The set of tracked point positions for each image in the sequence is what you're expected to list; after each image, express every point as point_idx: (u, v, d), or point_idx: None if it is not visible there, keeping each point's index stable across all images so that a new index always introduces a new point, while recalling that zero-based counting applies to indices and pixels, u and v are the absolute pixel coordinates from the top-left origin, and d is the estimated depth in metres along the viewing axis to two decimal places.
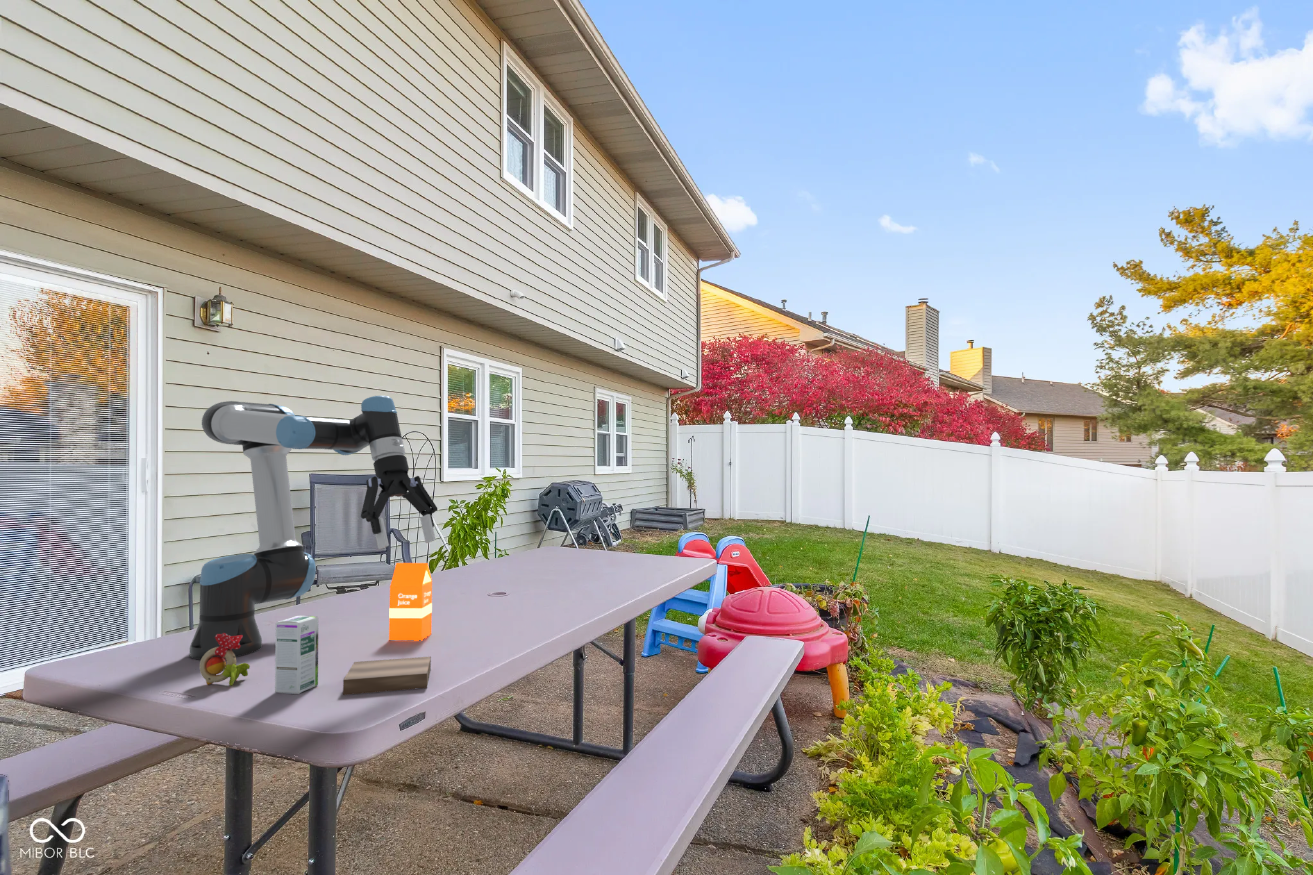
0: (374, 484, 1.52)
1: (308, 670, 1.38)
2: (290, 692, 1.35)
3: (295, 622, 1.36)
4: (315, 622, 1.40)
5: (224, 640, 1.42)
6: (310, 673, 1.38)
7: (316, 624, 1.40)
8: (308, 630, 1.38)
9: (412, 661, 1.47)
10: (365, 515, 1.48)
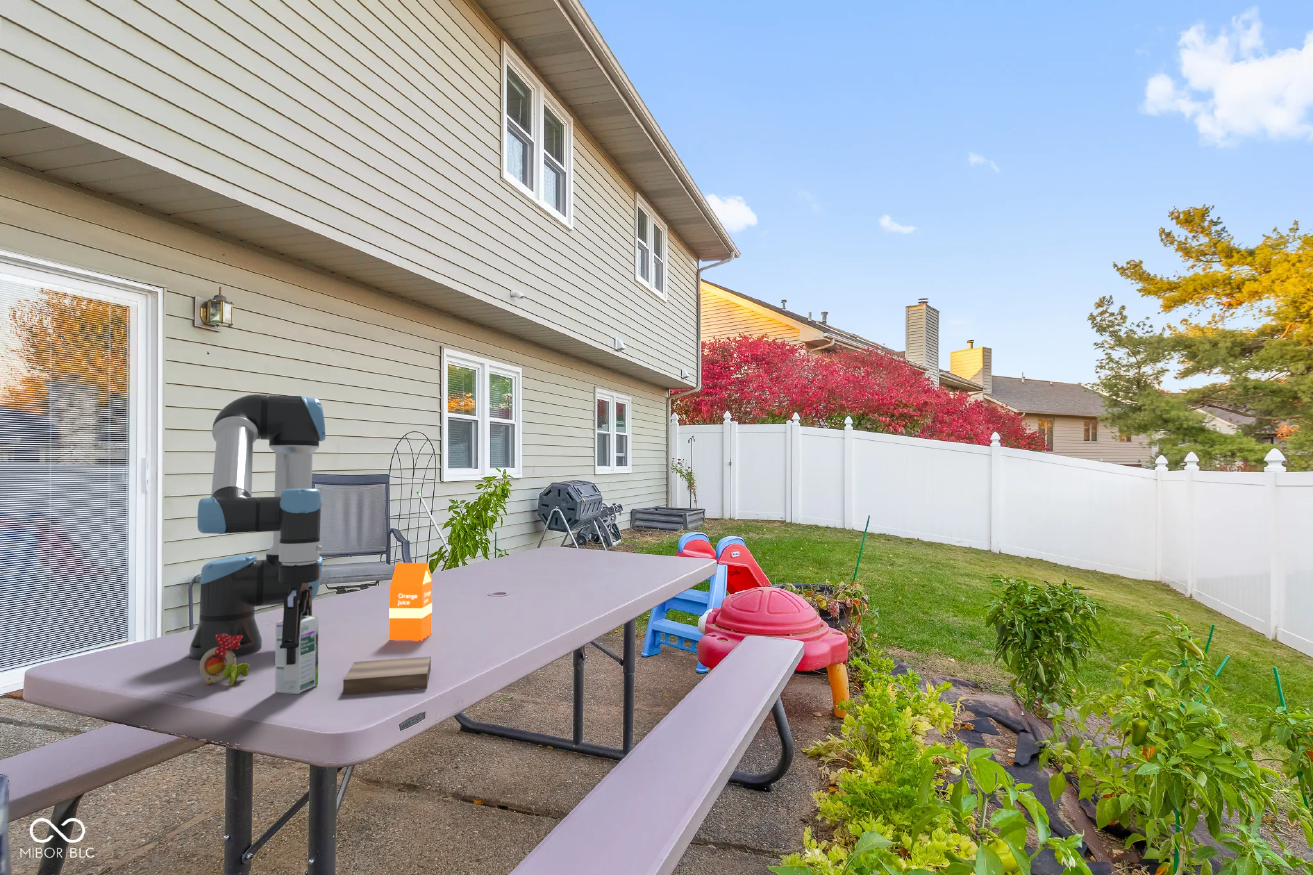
0: (297, 606, 1.33)
1: (308, 670, 1.38)
2: (290, 692, 1.35)
3: None
4: (315, 622, 1.40)
5: (224, 640, 1.42)
6: (310, 673, 1.38)
7: (316, 624, 1.40)
8: (308, 630, 1.38)
9: (412, 661, 1.47)
10: (290, 645, 1.32)
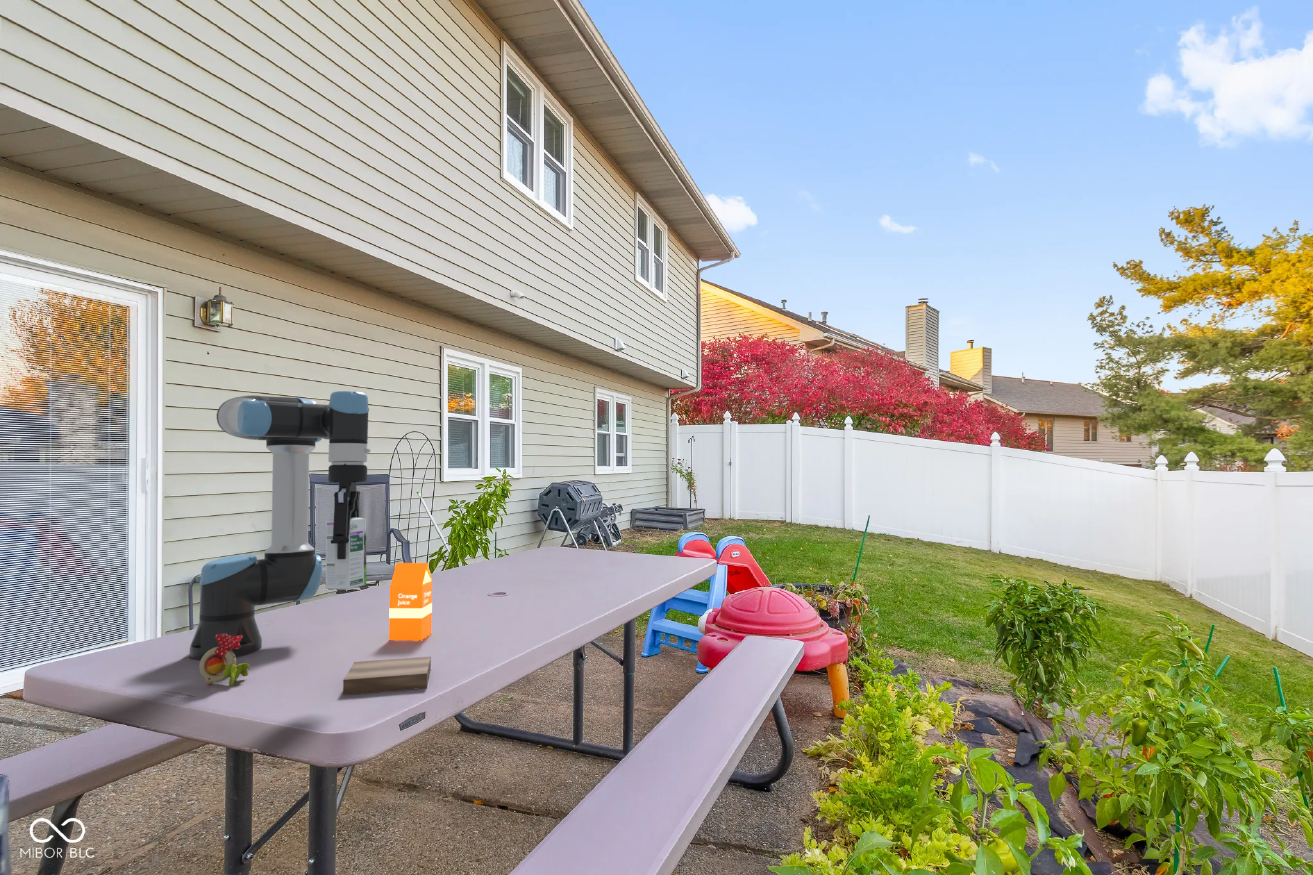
0: (347, 502, 1.36)
1: (357, 568, 1.40)
2: (340, 588, 1.38)
3: None
4: (363, 523, 1.43)
5: (224, 640, 1.42)
6: (359, 571, 1.41)
7: (364, 525, 1.43)
8: (357, 529, 1.41)
9: (412, 661, 1.47)
10: (340, 539, 1.35)
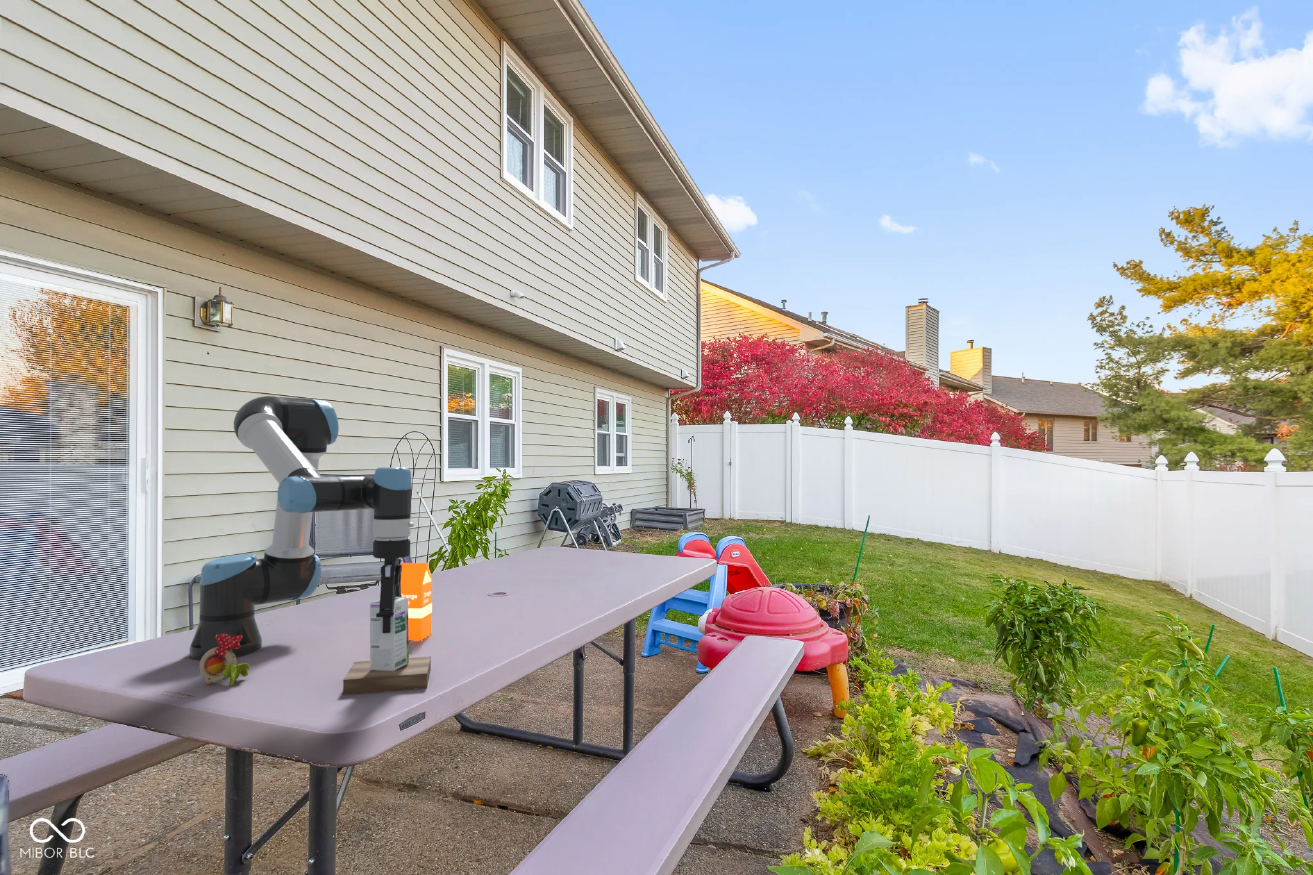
0: (393, 576, 1.38)
1: (401, 648, 1.43)
2: (385, 669, 1.40)
3: None
4: (406, 602, 1.45)
5: (224, 640, 1.42)
6: (402, 651, 1.43)
7: (406, 604, 1.45)
8: (400, 610, 1.43)
9: (412, 661, 1.47)
10: (387, 614, 1.35)
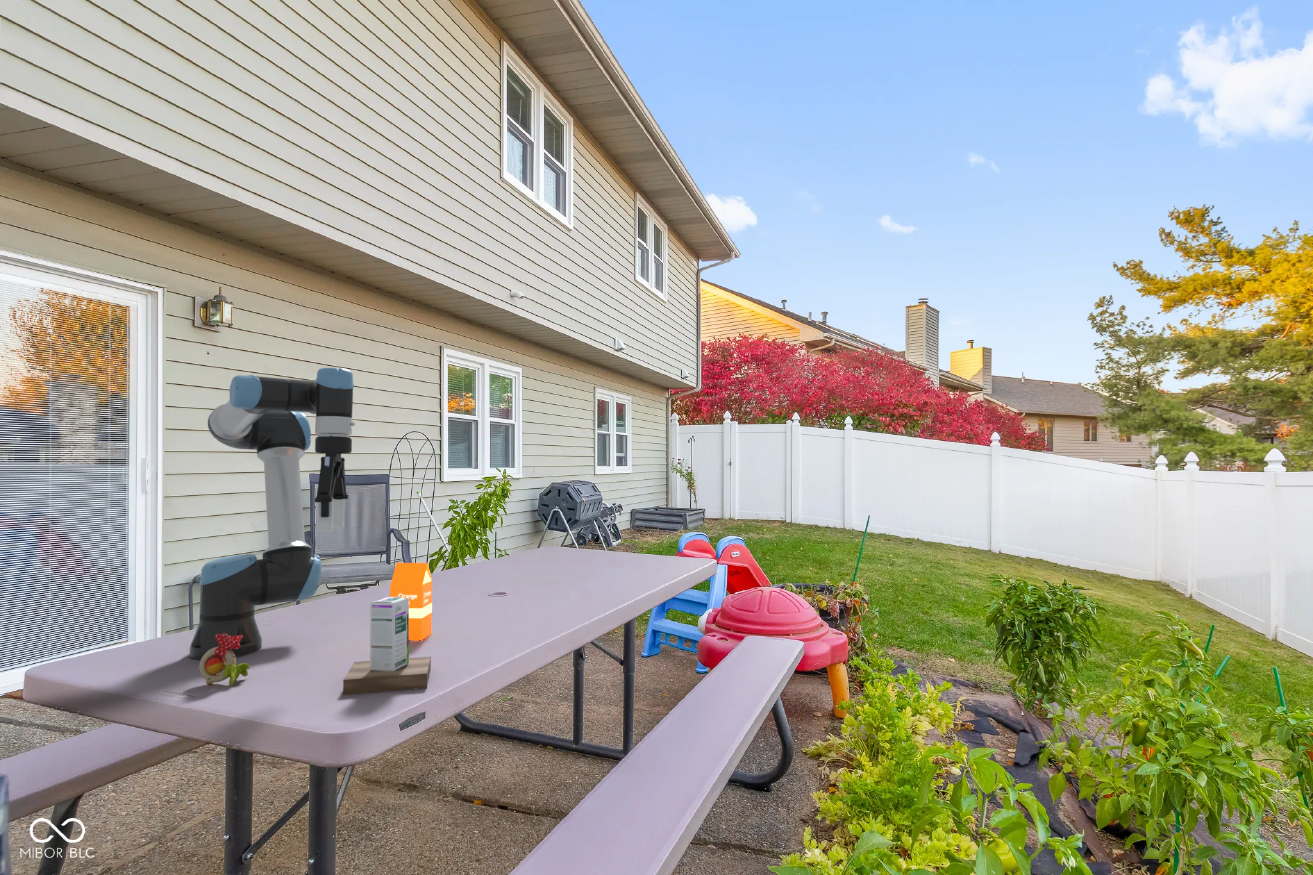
0: (332, 465, 1.46)
1: (401, 648, 1.43)
2: (385, 670, 1.40)
3: (390, 602, 1.41)
4: (406, 603, 1.45)
5: (224, 640, 1.42)
6: (402, 652, 1.43)
7: (407, 605, 1.45)
8: (401, 610, 1.43)
9: (412, 661, 1.47)
10: (324, 498, 1.42)
